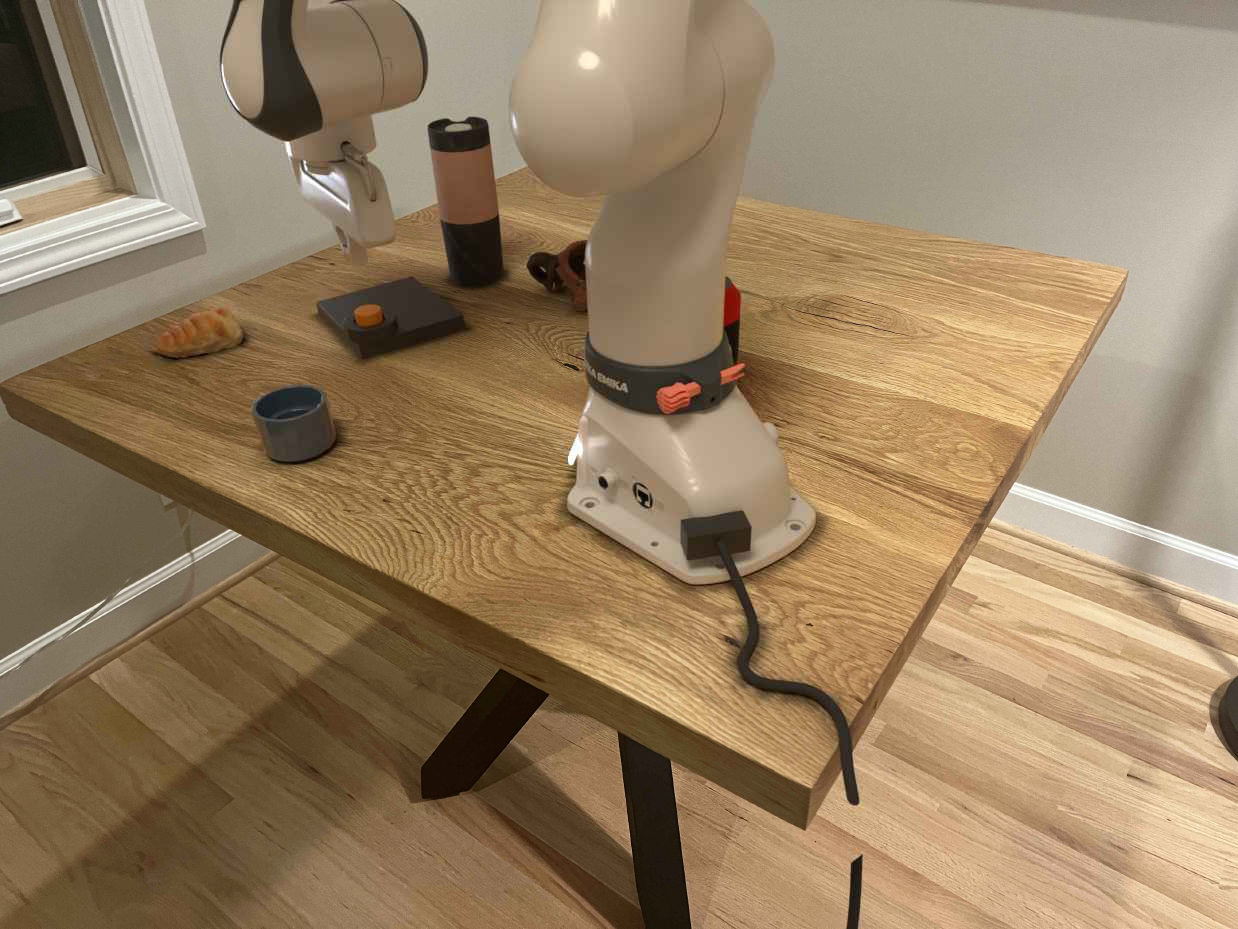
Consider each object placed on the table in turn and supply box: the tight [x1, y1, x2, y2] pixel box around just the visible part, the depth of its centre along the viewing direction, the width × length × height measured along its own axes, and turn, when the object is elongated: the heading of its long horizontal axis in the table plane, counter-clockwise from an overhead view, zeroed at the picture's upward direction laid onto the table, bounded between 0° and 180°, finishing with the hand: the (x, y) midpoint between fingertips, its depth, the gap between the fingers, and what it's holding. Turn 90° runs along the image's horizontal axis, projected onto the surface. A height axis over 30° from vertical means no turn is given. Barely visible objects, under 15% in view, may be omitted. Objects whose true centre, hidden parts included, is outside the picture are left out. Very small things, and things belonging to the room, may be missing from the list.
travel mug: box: [427, 116, 504, 288], centre depth 116 cm, size 8×8×20 cm
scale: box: [315, 275, 466, 361], centre depth 110 cm, size 16×13×4 cm
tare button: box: [354, 305, 383, 326], centre depth 104 cm, size 3×3×2 cm
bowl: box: [250, 384, 337, 463], centre depth 87 cm, size 7×7×5 cm
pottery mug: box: [525, 239, 588, 313], centre depth 114 cm, size 12×10×8 cm
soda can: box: [723, 275, 742, 386], centre depth 92 cm, size 8×8×12 cm
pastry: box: [155, 305, 244, 360], centre depth 106 cm, size 9×7×4 cm
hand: (355, 261), depth 100 cm, fingers closed
